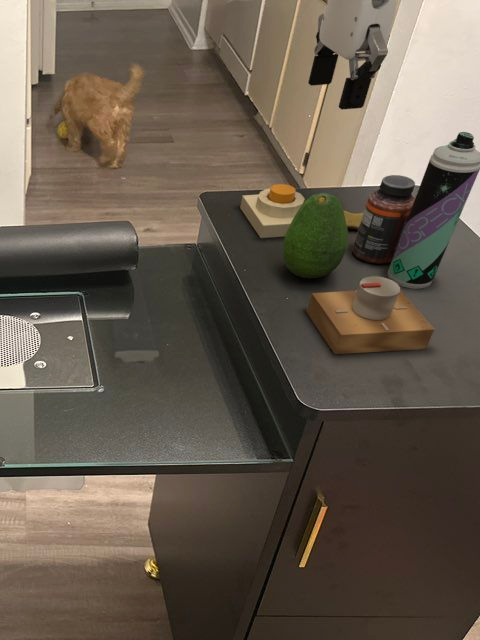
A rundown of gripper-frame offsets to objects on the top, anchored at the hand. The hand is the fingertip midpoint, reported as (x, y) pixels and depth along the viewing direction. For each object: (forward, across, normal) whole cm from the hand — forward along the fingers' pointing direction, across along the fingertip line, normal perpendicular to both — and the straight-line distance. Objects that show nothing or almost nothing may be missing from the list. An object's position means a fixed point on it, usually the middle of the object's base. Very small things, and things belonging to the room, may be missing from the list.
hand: (334, 95), depth 101 cm
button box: (+19, -1, +4) cm, 19 cm away
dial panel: (+19, -30, +4) cm, 35 cm away
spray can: (+19, -19, -7) cm, 28 cm away
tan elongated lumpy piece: (+19, -5, -7) cm, 21 cm away
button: (+15, -1, +4) cm, 16 cm away
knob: (+16, -30, +4) cm, 34 cm away
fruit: (+19, -16, +6) cm, 26 cm away
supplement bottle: (+19, -12, -5) cm, 23 cm away
